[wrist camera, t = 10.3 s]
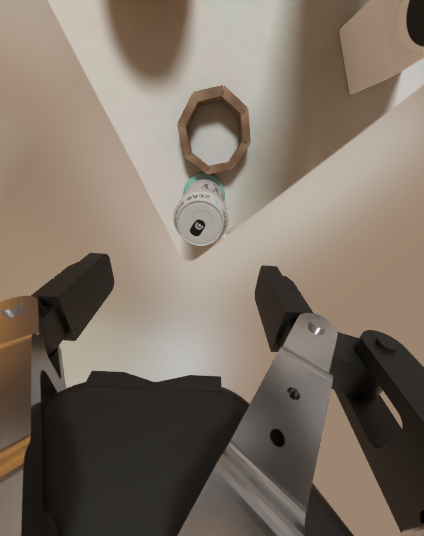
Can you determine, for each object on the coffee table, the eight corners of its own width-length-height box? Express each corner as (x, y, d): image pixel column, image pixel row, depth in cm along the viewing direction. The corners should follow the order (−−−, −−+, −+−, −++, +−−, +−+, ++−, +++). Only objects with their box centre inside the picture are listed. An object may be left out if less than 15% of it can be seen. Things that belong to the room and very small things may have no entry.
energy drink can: (229, 193, 33) (241, 217, 20) (209, 222, 35) (208, 260, 22) (199, 170, 31) (190, 180, 18) (180, 202, 34) (160, 231, 20)
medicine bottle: (405, 61, 25) (542, -6, 15) (348, 96, 27) (434, 59, 17) (401, -16, 22) (570, -168, 12) (337, 30, 24) (434, -66, 13)
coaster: (198, 163, 31) (197, 163, 31) (232, 190, 33) (233, 190, 33) (176, 201, 34) (175, 201, 33) (209, 223, 36) (209, 224, 35)
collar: (205, 74, 26) (204, 67, 24) (260, 125, 29) (263, 123, 26) (170, 145, 30) (167, 144, 28) (221, 184, 32) (222, 185, 30)
